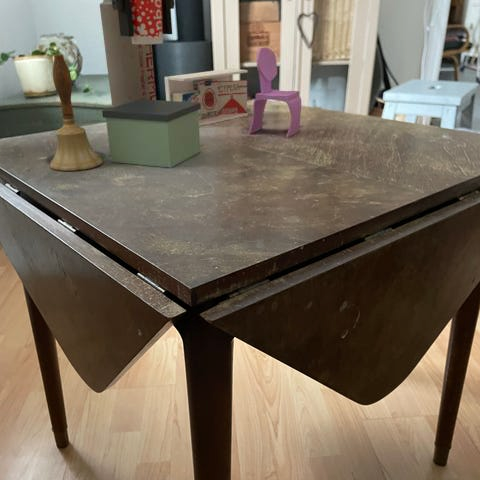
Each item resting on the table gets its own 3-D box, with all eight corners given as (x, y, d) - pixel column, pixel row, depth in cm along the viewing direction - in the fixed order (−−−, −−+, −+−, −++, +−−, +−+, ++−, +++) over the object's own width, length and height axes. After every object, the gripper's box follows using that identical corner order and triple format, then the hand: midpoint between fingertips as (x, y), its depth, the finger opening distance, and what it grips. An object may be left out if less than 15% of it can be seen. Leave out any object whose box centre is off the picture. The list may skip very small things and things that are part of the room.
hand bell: (40, 164, 87) (18, 55, 79) (85, 155, 92) (69, 51, 84) (66, 174, 82) (46, 58, 74) (112, 164, 87) (98, 54, 79)
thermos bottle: (168, 139, 102) (154, -38, 88) (140, 148, 96) (121, -40, 82) (136, 135, 106) (118, -36, 92) (107, 143, 100) (83, -38, 86)
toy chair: (288, 139, 101) (290, 50, 94) (245, 135, 105) (245, 49, 97) (303, 130, 108) (307, 46, 100) (262, 127, 111) (263, 45, 103)
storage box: (108, 162, 88) (101, 110, 84) (144, 146, 98) (139, 99, 93) (172, 168, 85) (167, 114, 81) (202, 151, 94) (200, 102, 90)
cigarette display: (185, 128, 110) (182, 78, 106) (168, 125, 114) (164, 76, 109) (251, 114, 123) (251, 69, 118) (234, 112, 126) (233, 68, 121)
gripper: (71, -186, 62) (100, 39, 74) (205, -162, 72) (211, 33, 84) (46, -172, 67) (77, 37, 79) (174, -151, 78) (185, 31, 89)
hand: (146, 34), depth 82 cm, fingers closed on beverage cup, 6 cm apart
